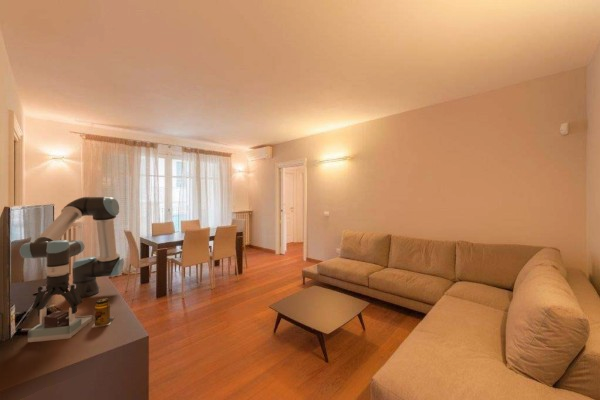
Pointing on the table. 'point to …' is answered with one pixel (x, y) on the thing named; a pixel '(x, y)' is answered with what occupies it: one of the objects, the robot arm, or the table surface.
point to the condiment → (102, 313)
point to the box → (57, 319)
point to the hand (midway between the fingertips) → (57, 321)
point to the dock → (58, 330)
